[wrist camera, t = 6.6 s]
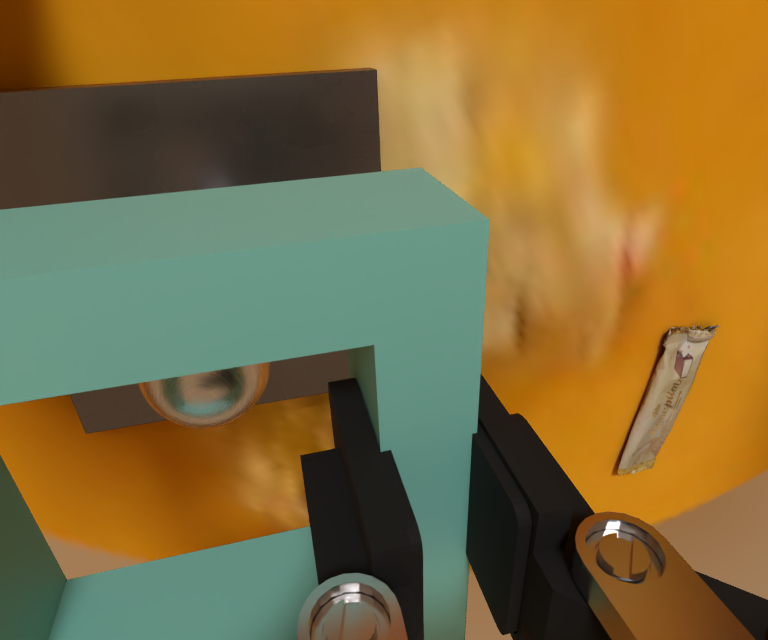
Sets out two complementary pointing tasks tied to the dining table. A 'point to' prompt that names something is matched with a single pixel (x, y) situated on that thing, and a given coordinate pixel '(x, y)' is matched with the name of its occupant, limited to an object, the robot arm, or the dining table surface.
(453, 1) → the dining table surface
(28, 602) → the teal square frame
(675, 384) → the snack bar
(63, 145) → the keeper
